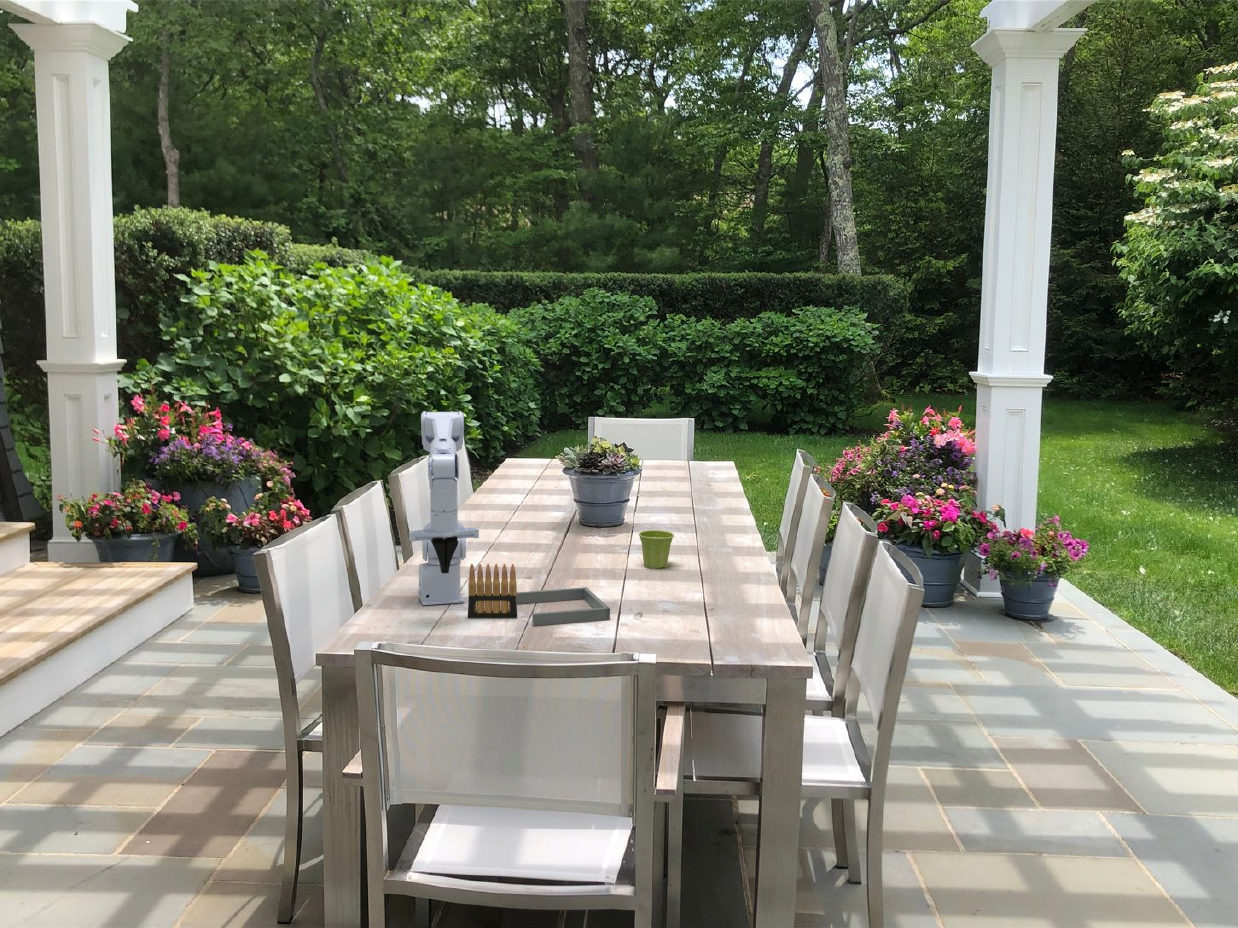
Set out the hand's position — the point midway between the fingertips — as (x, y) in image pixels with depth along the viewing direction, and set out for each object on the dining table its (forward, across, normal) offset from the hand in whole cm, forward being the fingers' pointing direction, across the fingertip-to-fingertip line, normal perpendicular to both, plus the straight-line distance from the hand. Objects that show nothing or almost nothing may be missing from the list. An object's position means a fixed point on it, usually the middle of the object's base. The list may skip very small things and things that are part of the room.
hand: (444, 572), depth 222 cm
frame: (+10, +25, -1) cm, 27 cm away
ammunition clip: (+11, +10, -1) cm, 15 cm away
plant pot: (+10, +60, +32) cm, 69 cm away
